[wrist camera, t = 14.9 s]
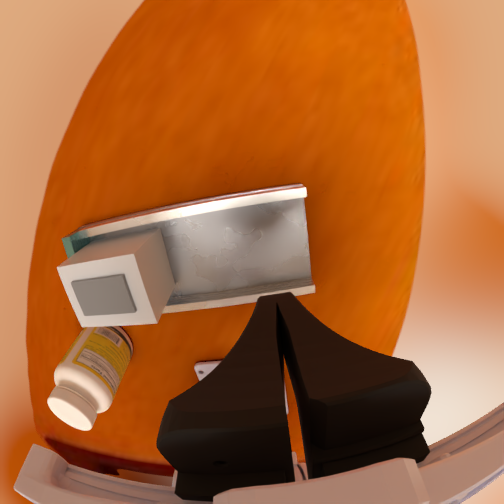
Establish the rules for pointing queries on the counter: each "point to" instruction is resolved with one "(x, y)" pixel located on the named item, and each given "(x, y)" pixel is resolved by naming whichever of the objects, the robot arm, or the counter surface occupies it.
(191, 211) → the rail plate
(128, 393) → the counter surface
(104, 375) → the supplement bottle
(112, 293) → the block
